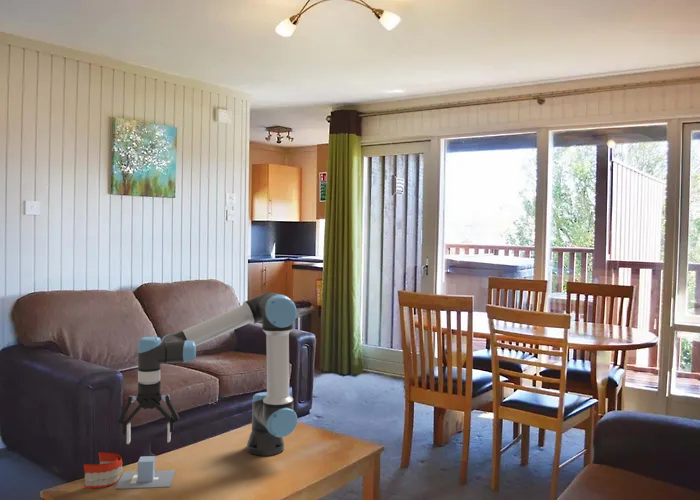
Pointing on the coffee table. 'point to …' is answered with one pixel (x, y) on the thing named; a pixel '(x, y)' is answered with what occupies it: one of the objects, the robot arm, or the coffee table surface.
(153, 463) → the block
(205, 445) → the coffee table surface
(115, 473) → the toy
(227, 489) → the coffee table surface
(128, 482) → the letter card
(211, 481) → the coffee table surface
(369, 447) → the coffee table surface
